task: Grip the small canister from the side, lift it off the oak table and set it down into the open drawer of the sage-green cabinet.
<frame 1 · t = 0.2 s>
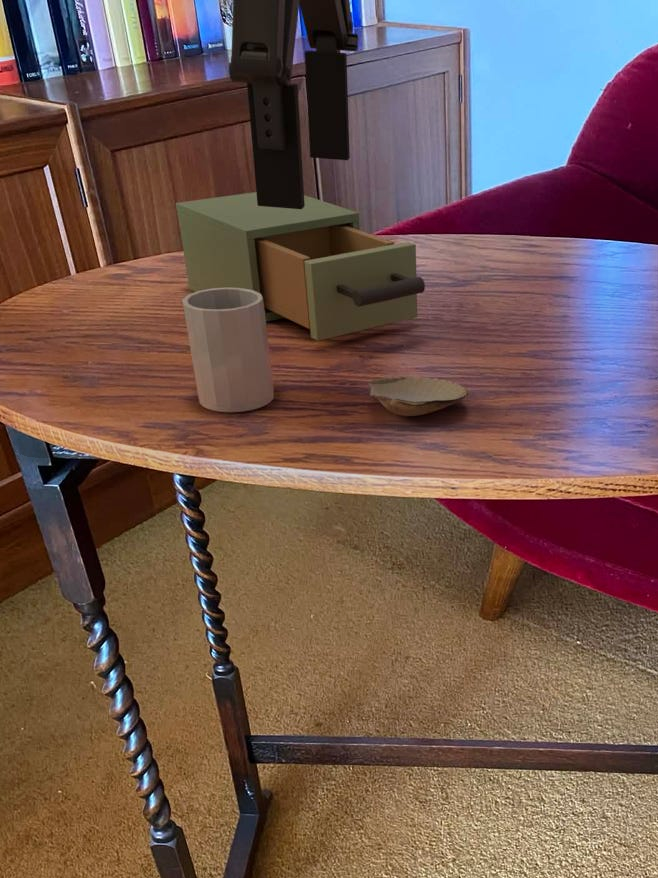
hand: (307, 180, 64), 18 cm above the table, tool pointing down, fingers open, 13 cm apart
canister: (236, 398, 79), on the table
cabinet: (275, 294, 102), on the table
seashell: (415, 412, 77), on the table
drawer: (339, 280, 91), point 4 cm above the table, slide at 9.0 cm
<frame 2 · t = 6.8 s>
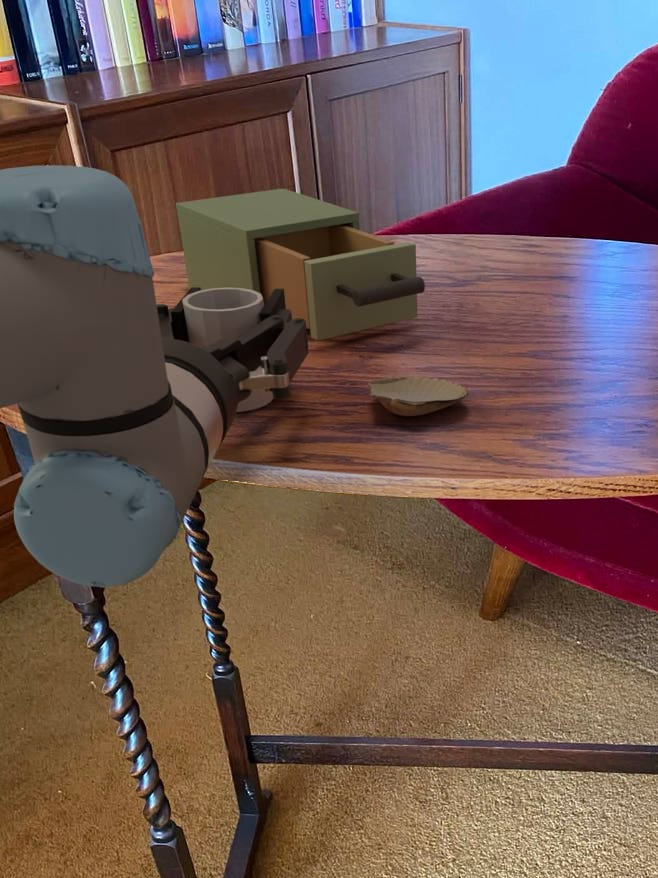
hand: (239, 304, 79), 6 cm above the table, tool horizontal, fingers closed on canister, 6 cm apart
canister: (236, 398, 79), on the table, touching gripper
everything else where it was.
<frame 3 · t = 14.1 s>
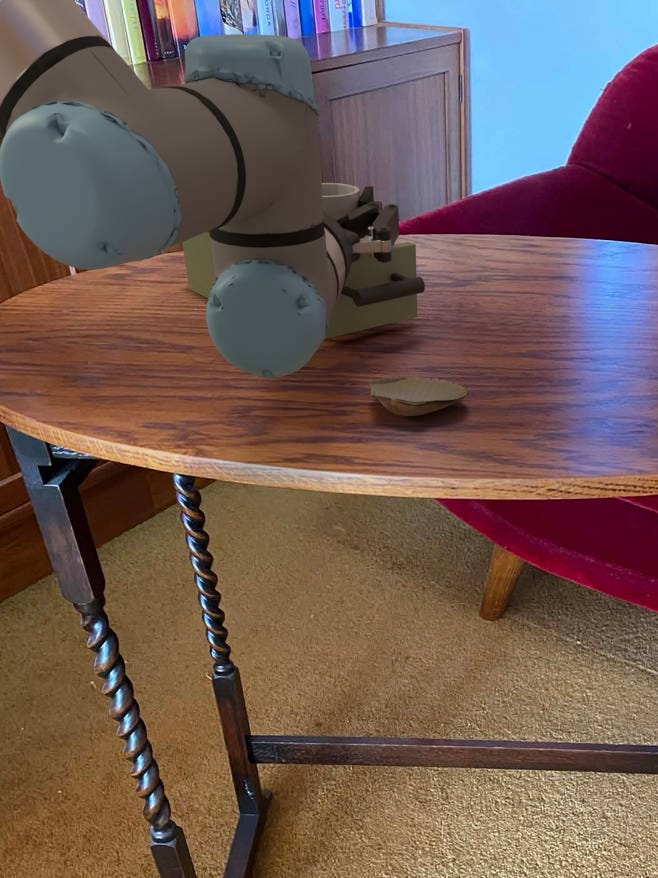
hand: (334, 201, 93), 10 cm above the table, tool horizontal, fingers closed on canister, 6 cm apart
canister: (332, 280, 92), point 4 cm above the table, touching gripper
everything else where it was.
when the fingers open (13 cm above the table, at t = 27.8 s): canister drops 5 cm, resting on drawer.
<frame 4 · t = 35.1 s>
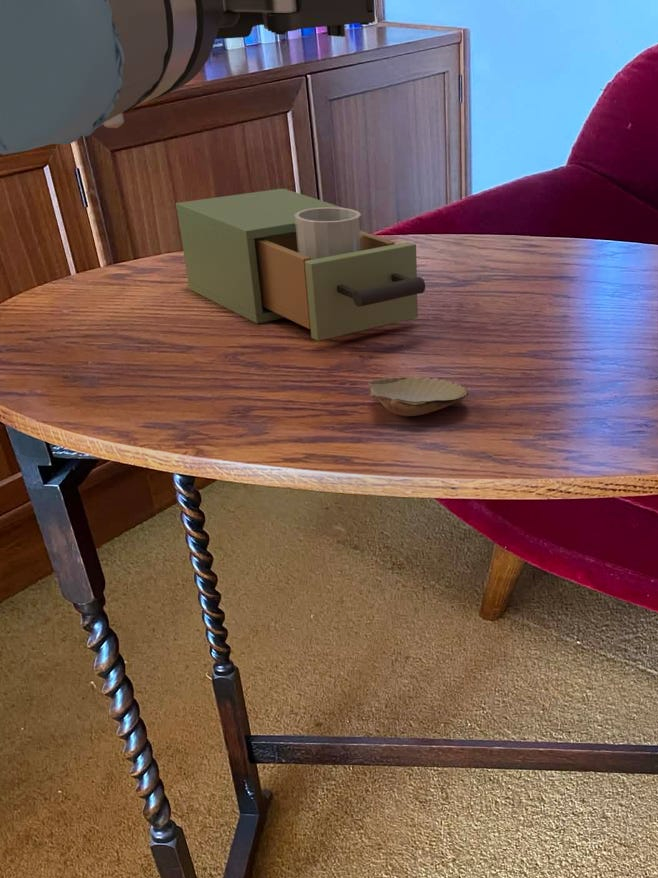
canister: (334, 302, 93), point 2 cm above the table, touching drawer
drawer: (339, 280, 91), point 4 cm above the table, slide at 9.1 cm, touching canister
everything else where it was.
at the end: canister inside the target area in the drawer (0.1 cm from its centre), point 2.0 cm above the cabinet's base; the gripper is holding nothing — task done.
